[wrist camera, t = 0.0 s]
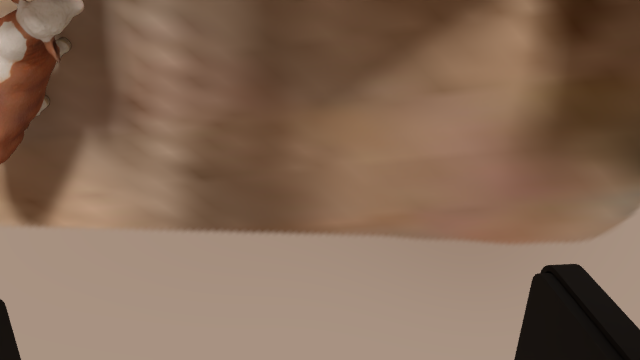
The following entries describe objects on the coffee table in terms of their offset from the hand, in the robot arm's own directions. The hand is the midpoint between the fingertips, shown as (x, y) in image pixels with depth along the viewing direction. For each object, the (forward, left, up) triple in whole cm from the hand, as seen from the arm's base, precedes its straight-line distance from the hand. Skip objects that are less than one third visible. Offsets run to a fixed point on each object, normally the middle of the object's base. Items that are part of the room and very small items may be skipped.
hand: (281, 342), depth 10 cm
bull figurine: (+2, -15, -32) cm, 35 cm away
